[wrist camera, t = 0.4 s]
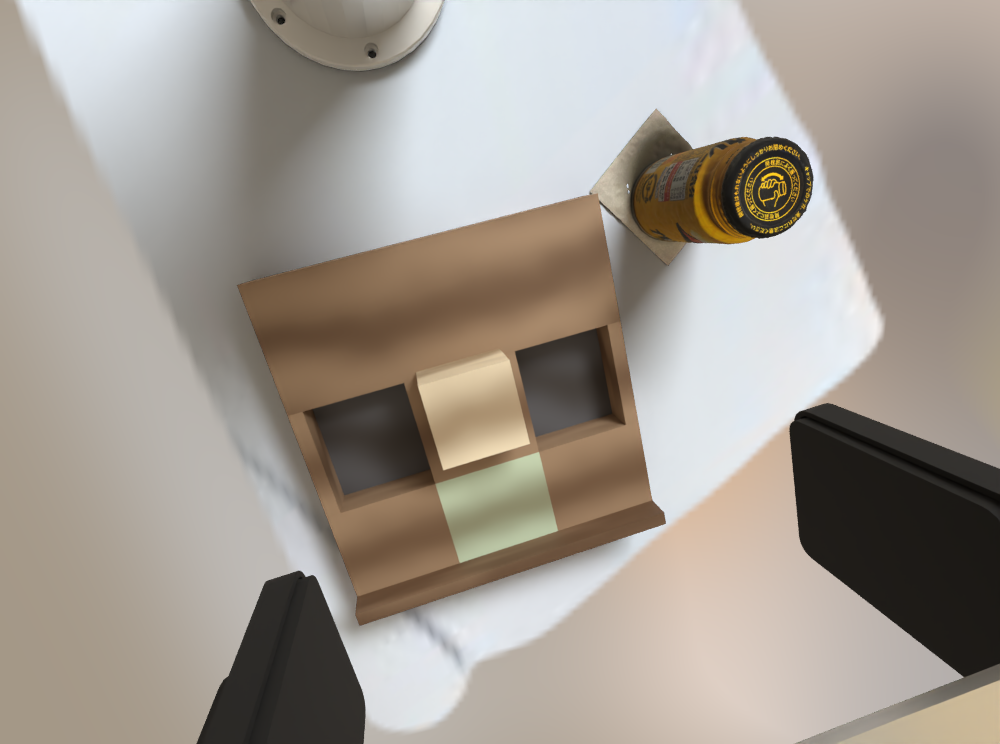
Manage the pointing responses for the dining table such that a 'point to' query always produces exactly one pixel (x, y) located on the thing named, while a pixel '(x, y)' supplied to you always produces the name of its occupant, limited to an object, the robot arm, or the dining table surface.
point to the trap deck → (402, 417)
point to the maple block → (473, 408)
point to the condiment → (704, 188)
